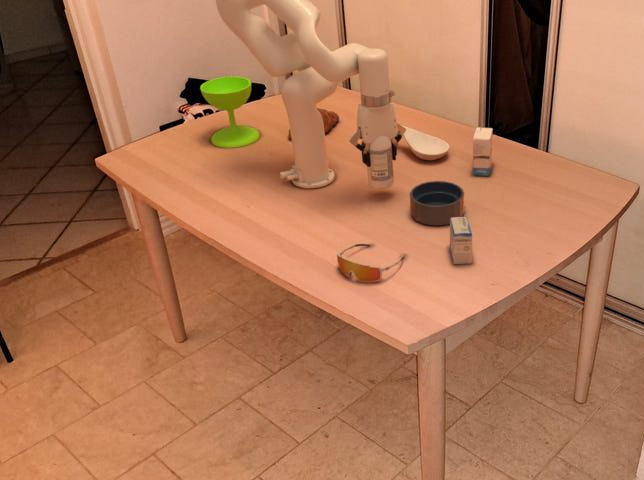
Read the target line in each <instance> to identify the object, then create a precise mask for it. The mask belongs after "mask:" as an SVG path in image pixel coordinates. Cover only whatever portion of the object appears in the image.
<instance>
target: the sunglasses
mask: <svg viewBox="0 0 644 480" xmlns="http://www.w3.org/2000/svg"><path fill="white" fill-rule="evenodd" d="M371 246H372V244H371V243H366V242H365V243H363V242H362V243H361V242H360V243H354V244H352V245H350V246H347V247H345V248H344V249H341V251H339V252H338V253H337V254H336V258H337V264H338V267H339V269H340V271H341V273H342V275H344V276H345V277H347V278H350V277H351V276H352V274H353V275H354V277H355V279H356V280H357V281H358V282H360V283H375V282H379V281H381V280H382V278H383V273H384V272H386V271H389V270H390V269H391V268H393V267H395V266H397V265H398V264H400V263H401V261H402V260H403V259H404V258H405V254H402V256H401V257H400V258H399V259H398V260H396V261H395V262H393V263H391V264H389V265H386V266H382V267H381V266H374V265H370V264H367V263H360V262H358V261H354V260H351V259H349V258H347V257H344V256H343V254H344V253H345V252H346V251H348V250H349V251H350V250H351V249H354V248H357V247H371Z"/></svg>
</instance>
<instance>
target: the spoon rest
mask: <svg viewBox="0 0 644 480" xmlns="http://www.w3.org/2000/svg"><path fill="white" fill-rule="evenodd" d="M401 126H402V127H404V128H405V129H406V131H405V133H404V134H403V135H402V137H403V138H404V140H405V142H406V144H407V145H408V147H409V149H410V150H411V151H412V153H413V154H414V155H415V156H416V157H418V158H419V159H421V160H423V161H434V160H439V159H441V158H442V157H444V156H446V154H447V153H449V150H450V147H451V146H450V144H449V143H448V142H446V140H443V139H442V138H439V137H436V136H434V135H430V134H428V133H425V132H423V131H419V130H417V129H414V128H411V127H409V126H405V125H401ZM397 133H398V129H397Z"/></svg>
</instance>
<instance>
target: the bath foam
mask: <svg viewBox="0 0 644 480" xmlns="http://www.w3.org/2000/svg"><path fill="white" fill-rule="evenodd" d="M368 153H370V163H371V166H370V167H368V166H366V167H367V180H368V185H369V186H370V188H372V189H376V190H383V189H387V188H390V187H391V186H392V185H393V184H394V182H395V181H394V164H393V163H394V160H392V144H391V140H390V139H389V138H388V137H386V136H379V137H378V138H377V139H376V140H375V141H374V142H373V143H371V144H370V147H369V150H368Z"/></svg>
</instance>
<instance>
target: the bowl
mask: <svg viewBox="0 0 644 480" xmlns="http://www.w3.org/2000/svg"><path fill="white" fill-rule="evenodd" d="M409 209H410V216H411V217H412V218H413V219H414V220H415V221H416V222H418V223H421V224H422V225H428V226H445V225H446V226H447V225H450V218H454V217H464V215H465V214H464V213H465V192H464V189H463V188H462V187H461V186H460V185H458V184H456V183H453V182H450V181H445V180H432V181H426V182H422V183H419V184H417V185H415V186H414V187H412V189H411V190H410V193H409Z"/></svg>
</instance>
